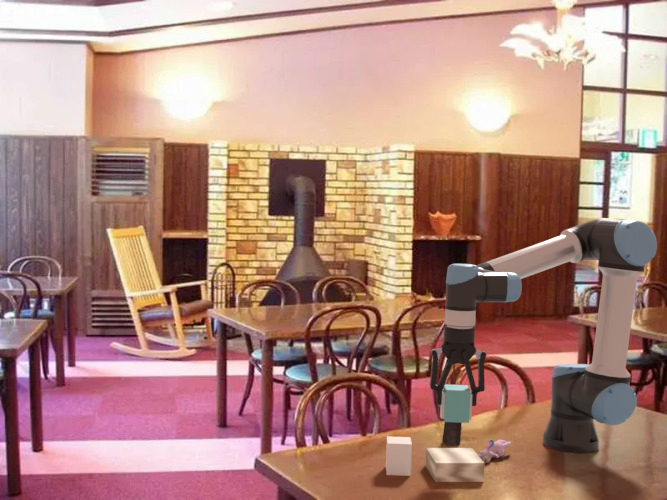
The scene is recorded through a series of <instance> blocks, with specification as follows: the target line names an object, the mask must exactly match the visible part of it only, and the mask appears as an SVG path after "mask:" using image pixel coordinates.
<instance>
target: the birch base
mask: <svg viewBox="0 0 667 500" xmlns="http://www.w3.org/2000/svg"><path fill="white" fill-rule="evenodd" d="M425 449H426V450H425V466H426V468H427V470H428V472H429V474H430V476H431V478H432V479H433V481H434V482H435V483H455V482H456V483H484V481H485V464H484V462H483V461H482V459H481V458H480V457H479V456H478V455H479V454H478V453H477V452H476V451H475V450H474V448H472V447H426V448H425Z"/></svg>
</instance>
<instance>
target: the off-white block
mask: <svg viewBox="0 0 667 500" xmlns="http://www.w3.org/2000/svg"><path fill="white" fill-rule="evenodd" d="M411 438H412V437H409V436H390V435H389V436H388V435H387V436H386V445H385V446H386V453H385V473H386V474H385V475H386V476H401V477H402V476H404V477H405V476H406V477H411V475H412V455H413V454H412V449H413V446H412V445H413V444H412V439H411Z"/></svg>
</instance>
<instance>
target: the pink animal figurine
mask: <svg viewBox="0 0 667 500" xmlns="http://www.w3.org/2000/svg"><path fill="white" fill-rule="evenodd" d="M510 445H512V441H507V440H505V439H497V440H496V441H494V439H493V438H490V439H489V441H488V443H487V446H486V447H485V449H484V450H478V451H477V452H478V454H477V455H478V456H479V457H480V458H481V459H482V461H483V462H484V465H485V464H489V463H490V462H491V459H493V458H495V459H498V458H500V457H502V456H504V455H505V450H506V449H508V448H509V447H510Z"/></svg>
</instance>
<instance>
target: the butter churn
mask: <svg viewBox="0 0 667 500" xmlns="http://www.w3.org/2000/svg"><path fill="white" fill-rule="evenodd" d="M452 367H453V371H452V372H453V385H457V384H456V382H457V381H456V380H457V379H456V364H453V365H452ZM462 429H463V427H462V423H459V422H445V421H444V425H443V433H442V442H441V443H442V444H446V445H448V446H459V445H460V444H461V439H462V436H461V435H462Z"/></svg>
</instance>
